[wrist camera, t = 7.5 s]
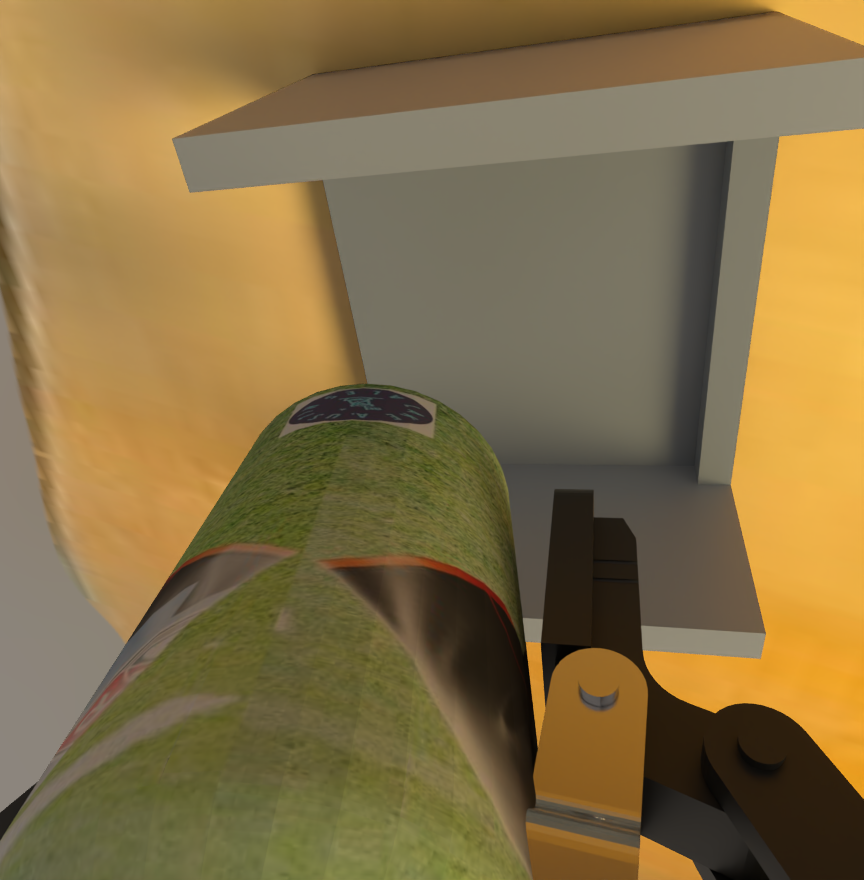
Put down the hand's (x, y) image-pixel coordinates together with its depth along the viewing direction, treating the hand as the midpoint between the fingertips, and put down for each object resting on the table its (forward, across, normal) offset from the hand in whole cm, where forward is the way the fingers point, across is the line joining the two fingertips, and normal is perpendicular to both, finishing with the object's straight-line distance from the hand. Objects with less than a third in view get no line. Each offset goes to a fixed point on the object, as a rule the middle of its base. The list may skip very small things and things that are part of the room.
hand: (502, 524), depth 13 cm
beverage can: (+3, +3, 0) cm, 4 cm away
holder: (+11, 0, 0) cm, 11 cm away
